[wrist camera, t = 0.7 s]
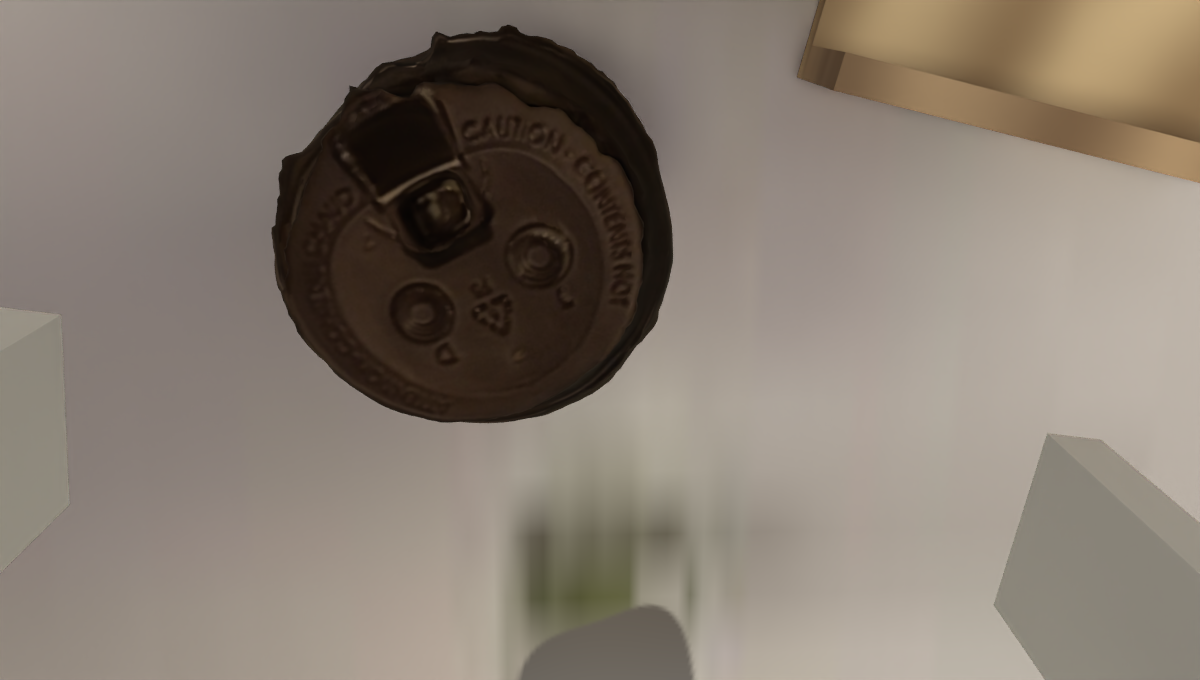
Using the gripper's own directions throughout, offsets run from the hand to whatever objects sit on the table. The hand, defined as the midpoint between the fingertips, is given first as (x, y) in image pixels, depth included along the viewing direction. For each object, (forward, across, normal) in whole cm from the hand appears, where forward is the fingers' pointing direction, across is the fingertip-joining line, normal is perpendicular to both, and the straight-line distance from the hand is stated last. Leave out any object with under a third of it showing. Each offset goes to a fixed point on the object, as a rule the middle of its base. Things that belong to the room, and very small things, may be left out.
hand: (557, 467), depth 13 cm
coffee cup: (+20, -2, +1) cm, 20 cm away
